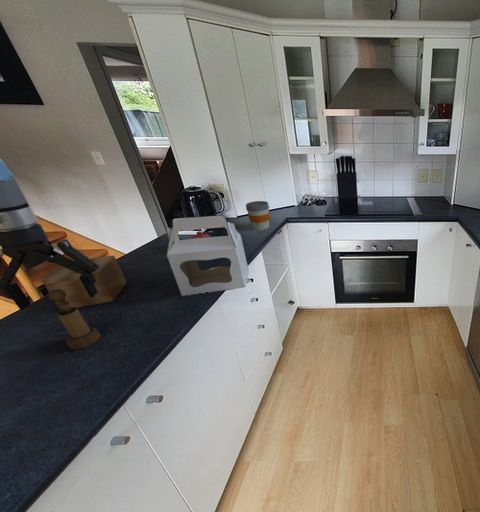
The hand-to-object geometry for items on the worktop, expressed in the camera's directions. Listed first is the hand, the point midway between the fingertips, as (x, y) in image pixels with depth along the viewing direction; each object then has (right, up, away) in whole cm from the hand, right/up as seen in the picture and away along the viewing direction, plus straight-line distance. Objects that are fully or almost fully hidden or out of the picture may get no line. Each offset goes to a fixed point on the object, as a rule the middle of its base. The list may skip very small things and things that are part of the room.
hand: (61, 300), depth 74 cm
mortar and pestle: (-1, -13, +7) cm, 15 cm away
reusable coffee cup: (+12, +29, +94) cm, 99 cm away
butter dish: (-6, +17, +67) cm, 69 cm away
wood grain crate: (-19, -2, +27) cm, 33 cm away
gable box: (+20, +1, +37) cm, 42 cm away
